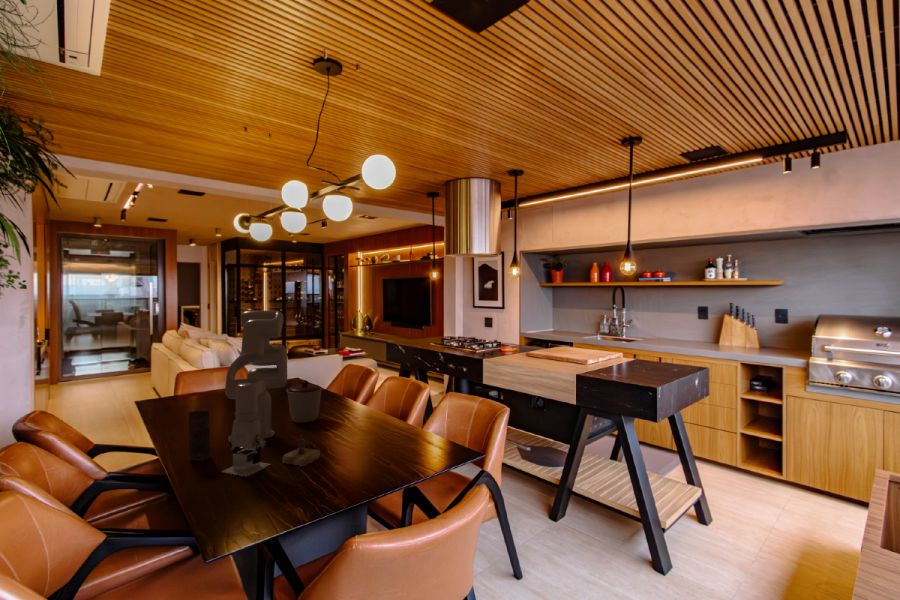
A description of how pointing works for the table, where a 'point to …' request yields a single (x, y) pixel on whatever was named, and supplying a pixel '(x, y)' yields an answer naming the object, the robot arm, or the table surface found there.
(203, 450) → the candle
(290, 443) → the table surface
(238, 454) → the hollow square tube
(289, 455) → the peg stand
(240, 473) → the rubber pad
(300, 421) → the canister
